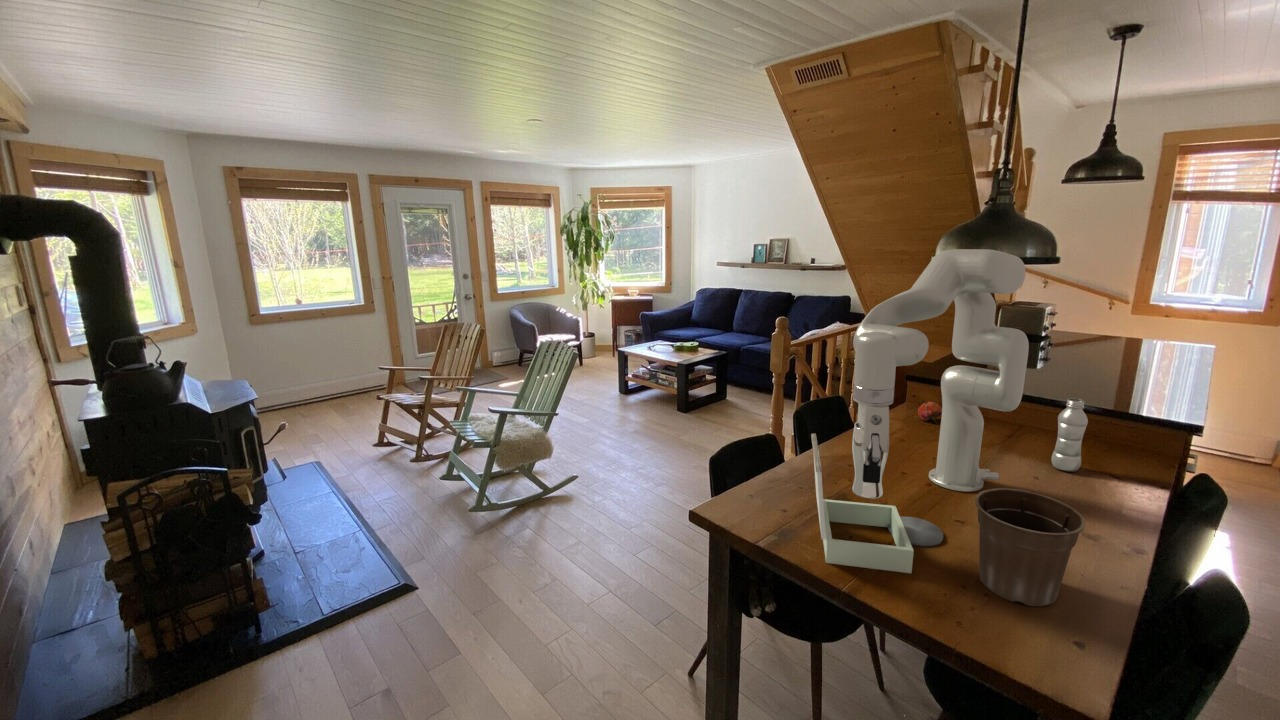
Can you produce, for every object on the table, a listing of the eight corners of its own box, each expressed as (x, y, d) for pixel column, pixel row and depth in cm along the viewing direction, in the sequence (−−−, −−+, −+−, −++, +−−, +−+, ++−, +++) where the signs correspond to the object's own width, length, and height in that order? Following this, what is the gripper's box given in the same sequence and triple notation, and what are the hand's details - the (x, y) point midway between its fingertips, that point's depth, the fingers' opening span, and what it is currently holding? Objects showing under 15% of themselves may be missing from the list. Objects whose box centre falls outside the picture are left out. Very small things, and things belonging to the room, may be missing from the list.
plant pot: (1034, 627, 90) (1048, 542, 86) (946, 574, 104) (955, 499, 100) (1091, 599, 96) (1106, 519, 92) (1000, 552, 110) (1011, 481, 107)
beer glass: (878, 483, 116) (883, 419, 112) (890, 500, 109) (895, 432, 105) (845, 483, 116) (849, 419, 113) (855, 500, 110) (858, 432, 106)
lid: (815, 433, 121) (811, 433, 122) (821, 466, 104) (815, 466, 105) (820, 497, 124) (815, 497, 125) (825, 539, 108) (820, 539, 108)
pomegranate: (944, 428, 185) (931, 404, 192) (951, 417, 180) (938, 393, 186) (922, 431, 186) (910, 407, 192) (929, 420, 180) (916, 396, 186)
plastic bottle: (1054, 472, 145) (1065, 402, 141) (1046, 462, 151) (1057, 395, 147) (1083, 475, 143) (1096, 405, 138) (1074, 465, 149) (1086, 397, 144)
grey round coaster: (935, 522, 122) (935, 519, 122) (949, 549, 112) (949, 545, 112) (883, 517, 125) (884, 514, 125) (892, 543, 115) (893, 539, 115)
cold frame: (893, 525, 122) (895, 505, 120) (911, 573, 105) (913, 550, 103) (820, 518, 126) (821, 499, 124) (825, 562, 109) (827, 541, 108)
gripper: (902, 408, 98) (895, 496, 103) (885, 381, 115) (880, 458, 119) (859, 406, 100) (854, 492, 105) (848, 380, 116) (845, 456, 121)
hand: (868, 473), depth 112 cm, fingers closed on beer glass, 6 cm apart
